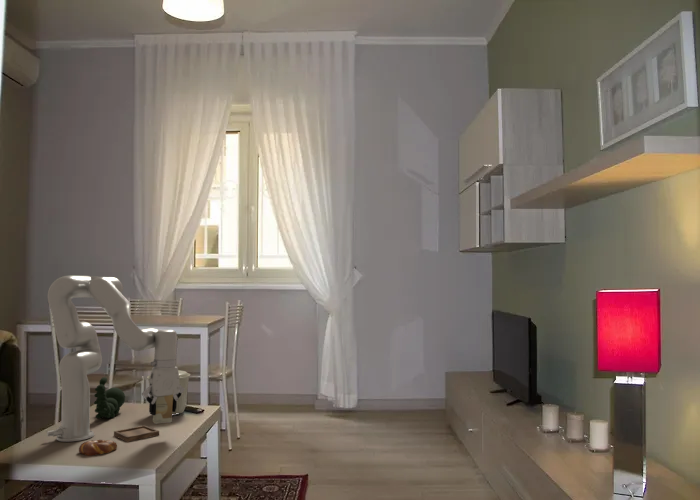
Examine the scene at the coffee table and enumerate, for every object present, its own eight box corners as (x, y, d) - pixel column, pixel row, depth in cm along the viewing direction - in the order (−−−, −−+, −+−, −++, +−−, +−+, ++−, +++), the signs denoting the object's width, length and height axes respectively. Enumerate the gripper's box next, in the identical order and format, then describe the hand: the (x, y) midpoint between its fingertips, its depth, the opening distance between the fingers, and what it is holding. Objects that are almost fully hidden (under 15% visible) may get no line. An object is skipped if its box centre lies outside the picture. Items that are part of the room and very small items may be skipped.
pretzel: (118, 446, 204) (119, 435, 204) (115, 454, 193) (115, 443, 194) (81, 448, 201) (82, 438, 201) (75, 457, 190) (76, 446, 190)
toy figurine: (112, 426, 237) (130, 407, 262) (110, 380, 237) (129, 366, 262) (88, 427, 237) (108, 408, 262) (87, 381, 236) (107, 366, 261)
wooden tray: (127, 441, 208) (127, 437, 208) (113, 435, 216) (113, 431, 216) (159, 435, 216) (159, 430, 216) (144, 429, 225) (144, 425, 225)
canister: (179, 419, 241) (179, 368, 242) (138, 418, 243) (138, 367, 244) (197, 409, 258) (197, 362, 259) (159, 408, 261) (159, 361, 262)
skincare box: (154, 424, 208) (155, 389, 208) (152, 421, 211) (153, 387, 212) (172, 422, 210) (174, 388, 211) (170, 419, 214) (171, 386, 215)
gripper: (146, 367, 203) (144, 418, 202) (191, 363, 215) (189, 411, 214) (137, 364, 209) (135, 414, 208) (181, 360, 221) (179, 407, 220)
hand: (162, 412), depth 211 cm, fingers closed on skincare box, 7 cm apart
